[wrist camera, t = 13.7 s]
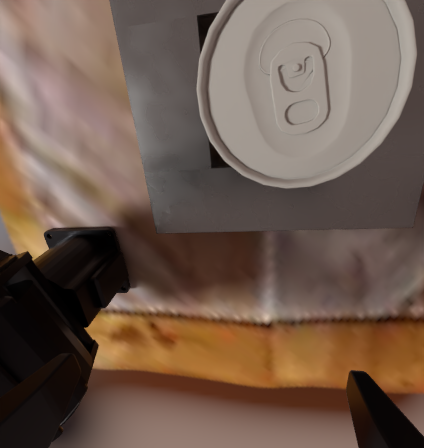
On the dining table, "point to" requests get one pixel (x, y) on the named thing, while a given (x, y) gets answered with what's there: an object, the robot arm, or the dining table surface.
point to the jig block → (220, 170)
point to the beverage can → (304, 85)
